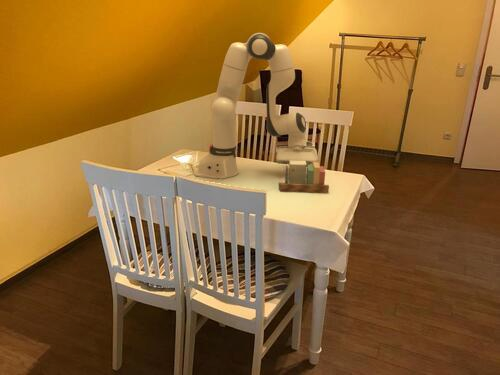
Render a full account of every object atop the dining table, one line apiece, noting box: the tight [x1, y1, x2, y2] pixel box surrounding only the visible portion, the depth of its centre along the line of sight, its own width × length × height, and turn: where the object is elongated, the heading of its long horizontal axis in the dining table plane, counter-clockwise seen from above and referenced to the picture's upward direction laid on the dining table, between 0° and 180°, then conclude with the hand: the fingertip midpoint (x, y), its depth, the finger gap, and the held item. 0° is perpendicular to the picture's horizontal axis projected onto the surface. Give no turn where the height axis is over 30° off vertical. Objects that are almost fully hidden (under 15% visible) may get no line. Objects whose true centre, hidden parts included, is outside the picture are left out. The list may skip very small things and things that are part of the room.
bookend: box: [278, 165, 289, 191], centre depth 196 cm, size 4×8×9 cm, turn 177°
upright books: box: [306, 161, 326, 185], centre depth 195 cm, size 8×8×12 cm
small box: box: [288, 160, 308, 184], centre depth 201 cm, size 8×6×10 cm
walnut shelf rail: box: [279, 182, 330, 194], centre depth 192 cm, size 22×2×4 cm, turn 87°
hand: (296, 171), depth 205 cm, fingers closed, pressing on small box
